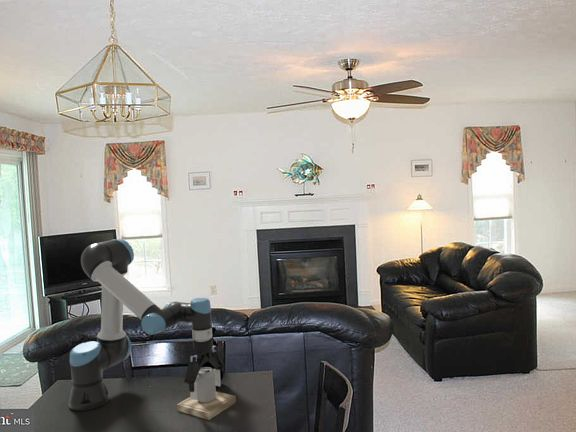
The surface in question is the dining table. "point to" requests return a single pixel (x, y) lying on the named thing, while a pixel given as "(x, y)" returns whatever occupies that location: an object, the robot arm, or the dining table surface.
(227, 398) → the board
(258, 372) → the dining table surface
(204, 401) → the can
